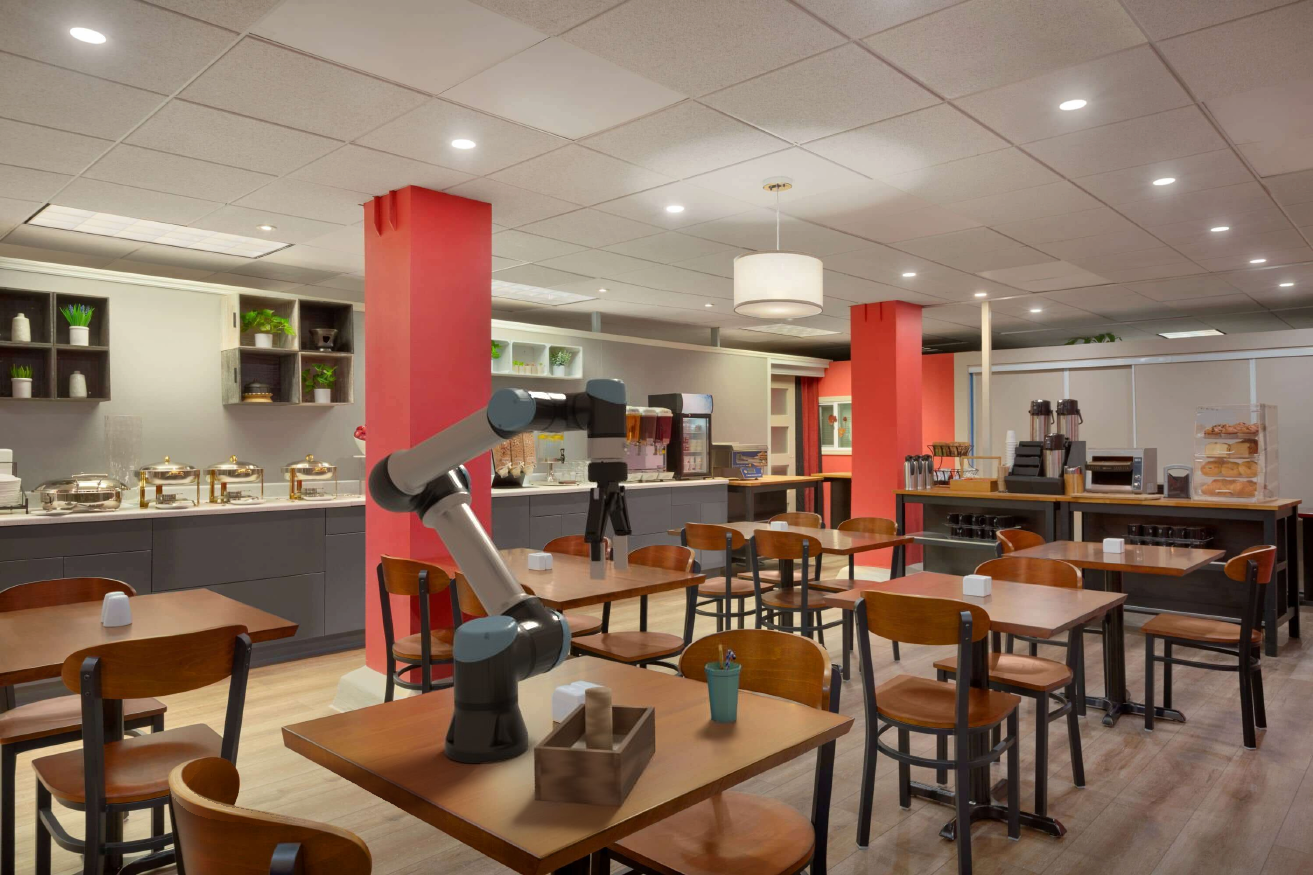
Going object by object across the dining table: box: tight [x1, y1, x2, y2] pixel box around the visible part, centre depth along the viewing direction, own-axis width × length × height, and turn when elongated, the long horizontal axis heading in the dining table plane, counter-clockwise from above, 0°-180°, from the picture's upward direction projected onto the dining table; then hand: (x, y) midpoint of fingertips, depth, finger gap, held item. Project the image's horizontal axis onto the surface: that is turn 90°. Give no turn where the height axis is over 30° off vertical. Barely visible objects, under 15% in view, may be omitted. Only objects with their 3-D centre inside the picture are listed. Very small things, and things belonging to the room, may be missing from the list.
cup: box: [704, 644, 742, 724], centre depth 167 cm, size 14×8×15 cm, turn 12°
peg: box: [584, 686, 613, 750], centre depth 140 cm, size 4×4×14 cm
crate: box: [533, 702, 657, 807], centre depth 140 cm, size 14×24×8 cm, turn 167°
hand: (609, 574), depth 155 cm, fingers open, 13 cm apart
